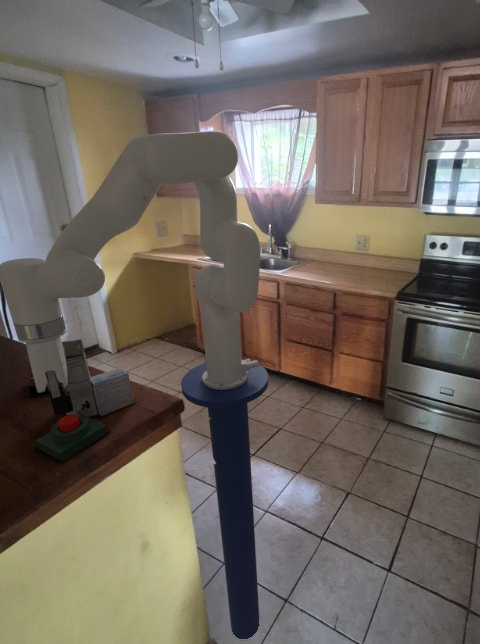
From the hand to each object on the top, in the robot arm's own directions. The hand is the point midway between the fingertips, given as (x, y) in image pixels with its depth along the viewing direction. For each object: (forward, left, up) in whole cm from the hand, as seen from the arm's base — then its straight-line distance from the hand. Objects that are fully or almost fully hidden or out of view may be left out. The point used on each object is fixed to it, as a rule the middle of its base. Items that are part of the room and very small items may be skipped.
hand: (64, 411), depth 75 cm
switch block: (0, 0, -8) cm, 8 cm away
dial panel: (+4, -29, -8) cm, 30 cm away
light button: (0, 0, -4) cm, 4 cm away
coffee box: (-2, -12, -8) cm, 15 cm away
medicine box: (-9, -10, -8) cm, 15 cm away
